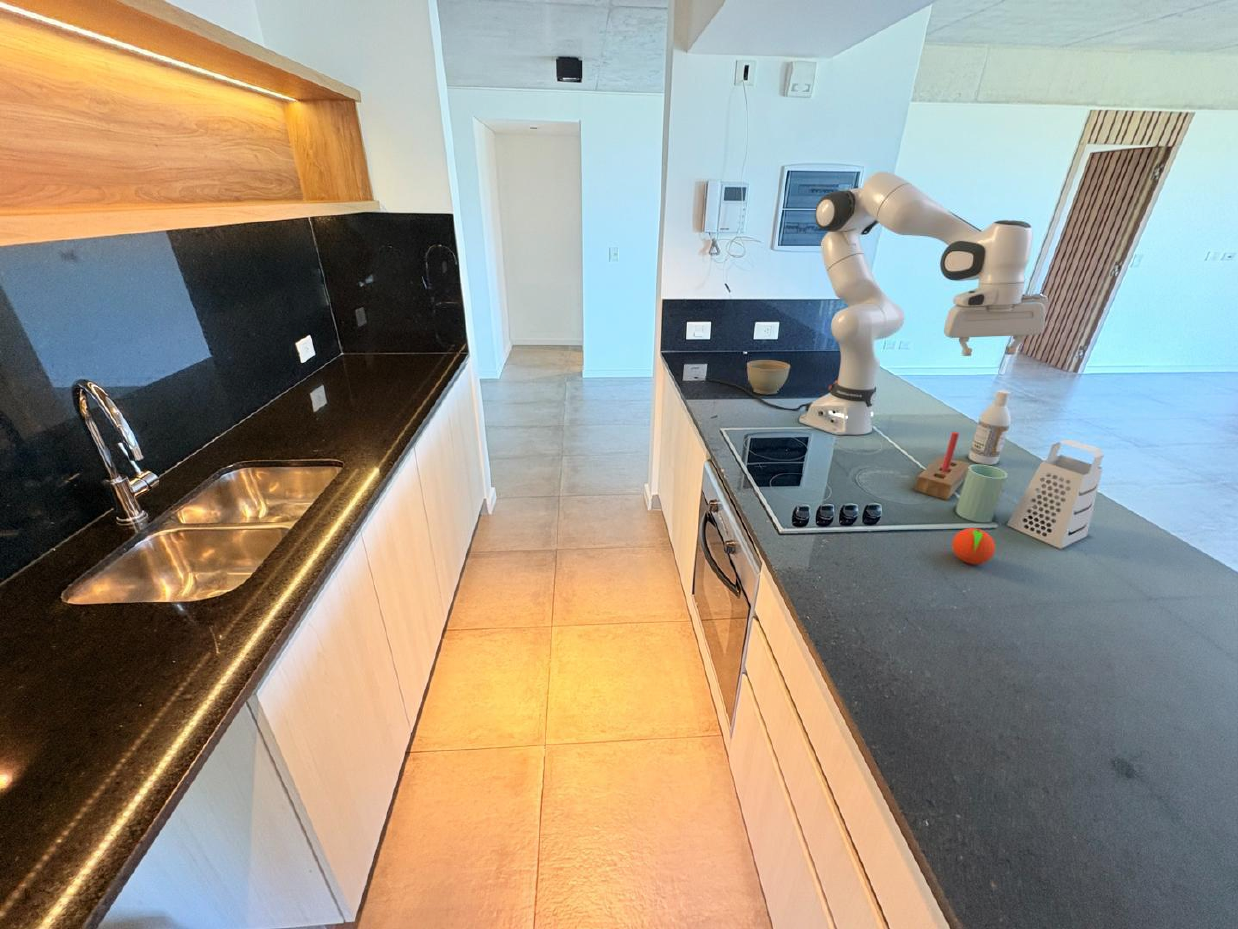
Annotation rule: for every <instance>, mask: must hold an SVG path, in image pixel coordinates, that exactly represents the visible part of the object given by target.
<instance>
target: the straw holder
mask: <svg viewBox="0 0 1238 929" xmlns="http://www.w3.org/2000/svg"><path fill="white" fill-rule="evenodd" d="M944 460H945V456H942V455H938V457H936V459H934V460H933V461H932V462H931V463H930V464H929V465H928V466H927V467H926V468H925V469H924V470H923V471H922V472H921V473H920V474H919V475H918V476H917V480H916V484H915V487H914V491H916V492H919V493H922V494H926V495H930V496H932V497H935V498H939V499H942V500H945V501H948V500H949V499H950V498H951V497H952V496H953V495H954V493H955V492H956V491H957V489H958V488H959V487H960V486H961V485H963V483H964V481H965V477H966V474H967V471H968V467H969V466H971V465H972V464H971V463H969V462H966V461H962V460H957V459H953V458H952V460H951V464H950V467H949V471H948V472H945V471H941V470H942V467H943V463H944Z"/></svg>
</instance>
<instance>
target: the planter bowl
mask: <svg viewBox="0 0 1238 929" xmlns="http://www.w3.org/2000/svg"><path fill="white" fill-rule="evenodd" d="M746 367H747V368H746V372H747V379H748V381H749V383H750V385H751V387H752V391H753V392H754V393H756V394H759V395H776V394H778V393H779V391H780V389H781V388H782V387H783V385H785V383H786V381H787V379H788V377H789V372H790V370H791V365H790V364H789V363H787V362H784V361H779V360H772V359H771V360H769V359H768V360H767V359H760V360H759V359H758V360H751V361H749V362H747V363H746ZM753 389H754V390H753ZM777 391H778V392H777Z"/></svg>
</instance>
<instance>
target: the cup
mask: <svg viewBox="0 0 1238 929" xmlns="http://www.w3.org/2000/svg"><path fill="white" fill-rule="evenodd" d="M1008 475H1009V474H1008V473H1007V472H1006V471H1005V470H1003V469H1001V468H999V467H995V466H992V465H985V464H980V463H975V464H971V465H970V466H969V467H968V471H967V474H966V477H965V480H964V481H963V483H962V487H961V491H960V494H959V497H958V500H957V504H956V509H955V512H956V514H957V515H958V516H960V517H961V518H962V519H965V520H968V521H971V522H975V523H982V524H983V523H984V524H985V523H990V522H992V521H993V519H994V517H995V513H996V511H997V509H998V506H999V502H1000V499H1001V497H1002V493H1003V490H1004V488H1005V485H1006V481H1007V479H1008Z"/></svg>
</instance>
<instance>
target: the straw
mask: <svg viewBox="0 0 1238 929" xmlns="http://www.w3.org/2000/svg"><path fill="white" fill-rule="evenodd" d="M959 436H960V433H959V432H957V431H952V432H951V435H950V438H949V442H948V446H947V449H946V452H945V456H944V457H945V460H944V463H943V467H942V470H941V471H945V472H948V471H949V467H950V464H951V460H952V459H953V457H954V453H955V449H956V447H957V443H958V439H959Z"/></svg>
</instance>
